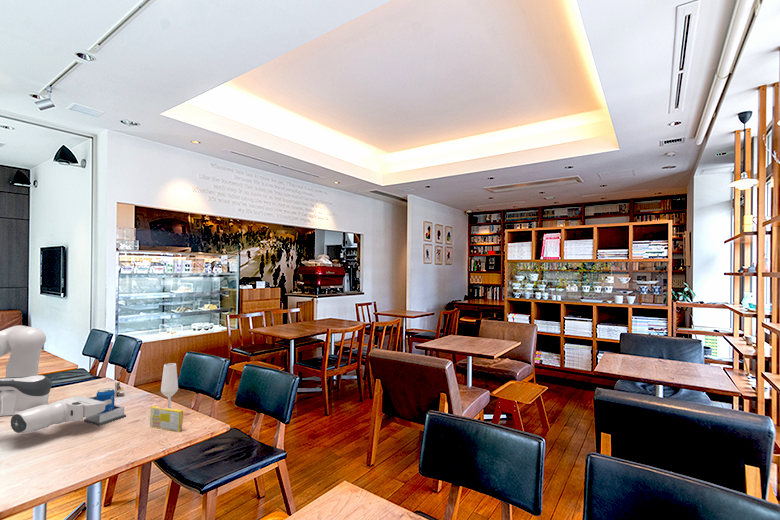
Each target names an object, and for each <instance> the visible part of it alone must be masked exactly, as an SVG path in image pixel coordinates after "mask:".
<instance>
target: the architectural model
mask: <svg viewBox="0 0 780 520" xmlns="http://www.w3.org/2000/svg"><path fill="white" fill-rule="evenodd" d="M120 383H121V382H120V381H118V382H117V381H114V391H115V397H117V396H119V395H120V392H124V391H125V389H124V387H122V386H121V385H120ZM118 394H119V395H118Z"/></svg>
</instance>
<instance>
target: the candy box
mask: <svg viewBox="0 0 780 520" xmlns="http://www.w3.org/2000/svg"><path fill="white" fill-rule="evenodd" d="M149 416H150V417H149V419H150V420H149V427H150V426H152V427H151V428H155V427H157V428H156V429H160V428H162V429H161V430H166V429H167V431H171V430H173V432H177V431H180V432H182V431H183V420H184V410H183V409H176V408H171V409H170V408H168V407H162V406H156V405H153V406H151V407H150V414H149ZM181 430H182V431H181Z"/></svg>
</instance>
